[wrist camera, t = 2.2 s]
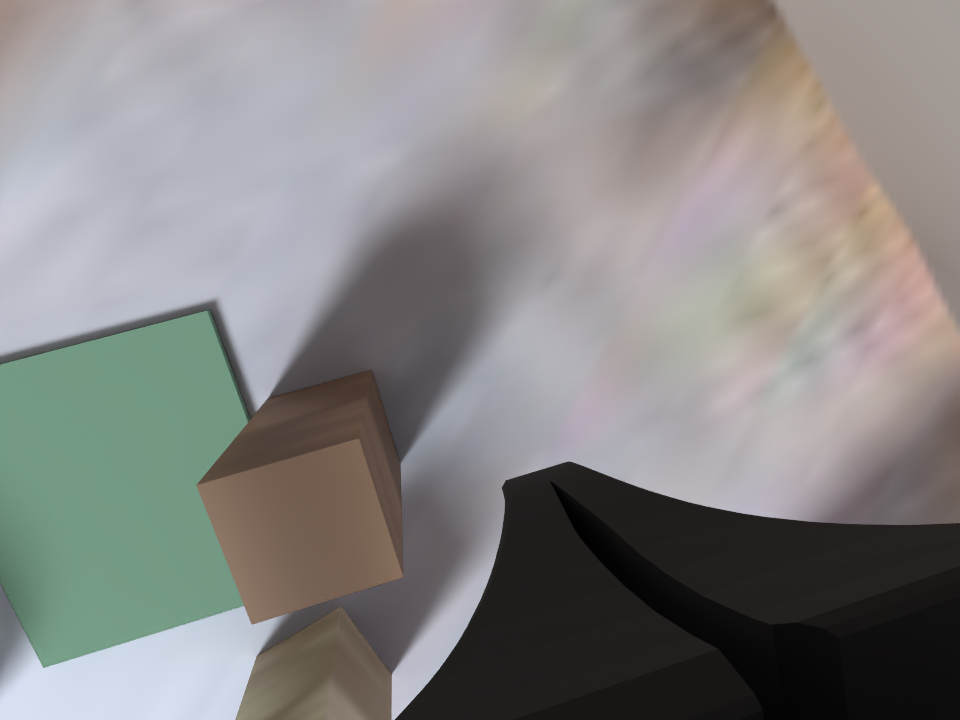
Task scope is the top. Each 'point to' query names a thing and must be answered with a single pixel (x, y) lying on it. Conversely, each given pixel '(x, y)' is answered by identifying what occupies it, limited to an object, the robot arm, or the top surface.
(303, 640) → the maple block
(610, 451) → the top surface
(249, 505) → the walnut block
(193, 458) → the mat
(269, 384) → the top surface
